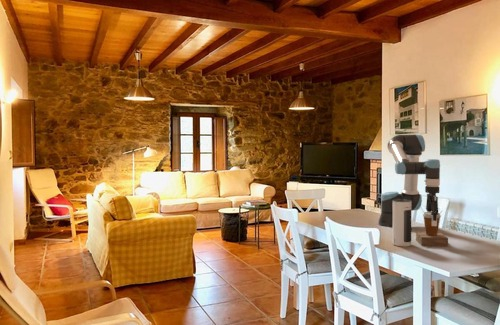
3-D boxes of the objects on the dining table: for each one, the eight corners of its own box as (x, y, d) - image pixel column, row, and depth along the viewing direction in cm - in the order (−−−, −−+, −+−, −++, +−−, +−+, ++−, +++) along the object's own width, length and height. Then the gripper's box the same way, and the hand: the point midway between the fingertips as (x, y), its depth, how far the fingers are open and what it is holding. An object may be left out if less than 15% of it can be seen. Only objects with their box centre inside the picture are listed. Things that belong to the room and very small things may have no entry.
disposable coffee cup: (424, 235, 235) (424, 214, 234) (421, 231, 244) (421, 211, 244) (442, 235, 233) (442, 215, 232) (438, 232, 242) (438, 212, 242)
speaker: (399, 247, 230) (399, 201, 229) (388, 243, 240) (388, 198, 239) (415, 246, 233) (415, 200, 232) (403, 241, 243) (404, 198, 242)
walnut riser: (416, 240, 247) (416, 232, 247) (440, 240, 245) (440, 232, 244) (421, 246, 233) (421, 237, 233) (448, 246, 231) (448, 238, 231)
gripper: (420, 183, 249) (420, 220, 250) (430, 188, 227) (429, 228, 228) (434, 184, 247) (433, 220, 249) (445, 188, 226) (444, 228, 227)
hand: (431, 224), depth 238 cm, fingers closed on disposable coffee cup, 9 cm apart
